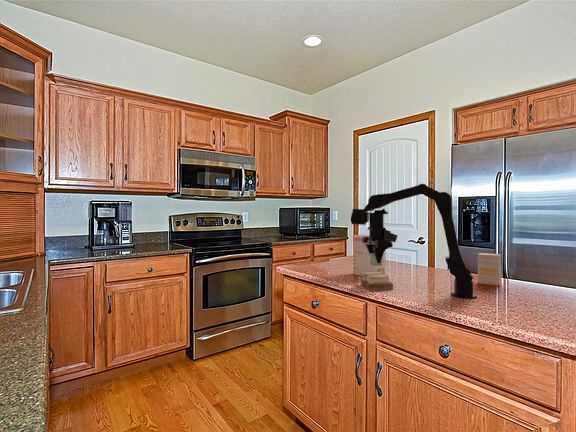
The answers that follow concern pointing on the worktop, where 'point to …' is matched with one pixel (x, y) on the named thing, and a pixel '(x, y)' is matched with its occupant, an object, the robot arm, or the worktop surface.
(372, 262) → the green rounded lump
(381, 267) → the coffeecake box
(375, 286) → the base slab
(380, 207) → the robot arm
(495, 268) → the supplement box
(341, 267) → the worktop surface
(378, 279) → the top block
